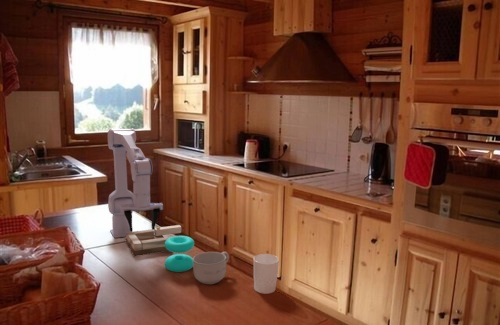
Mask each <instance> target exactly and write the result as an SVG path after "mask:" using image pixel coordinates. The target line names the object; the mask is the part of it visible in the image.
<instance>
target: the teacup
mask: <svg viewBox="0 0 500 325" xmlns="http://www.w3.org/2000/svg"><path fill="white" fill-rule="evenodd" d="M192 258H193V259H192V260H193V267H192V268H193V275H194V278H195V280H197V281H198V282H200V283H202V284H204V285H214V284H217V283H219V282H221V281H222V280H223V278H224V277H225V275H226V273H227V263H228V261H229V259H230V256H229V253H228V252H227V251H222V252H219V251H204V252H200V253H197V254H195V255H194V256H192Z"/></svg>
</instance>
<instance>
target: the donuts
mask: <svg viewBox="0 0 500 325" xmlns="http://www.w3.org/2000/svg"><path fill="white" fill-rule="evenodd" d="M194 246H195V240H194V239H193V238H192V237H190V236H187V235H175V236H170V237H169V238H168V239H167V240H166V241H165V247H166V249H167V250H169V251H168V252H172V253H176V254H172V255H170V256H168V257H167V258H166V259H165V260H164V266H165V268H166V269H167V270H169V271H170V272H173V273H175V272H176V273H179V272H180V273H181V272H182V273H183V272H186V271H187V272H188V271H190V270H191V269H192V268H193V260H192V259H193V256H191V255H189V254H184V253H186V252H189V251H191V250H192V249H193V248H194Z"/></svg>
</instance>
